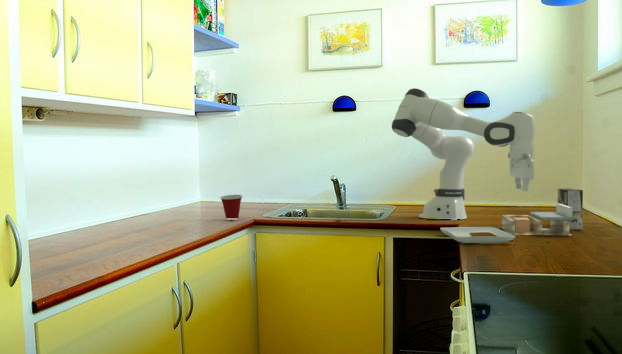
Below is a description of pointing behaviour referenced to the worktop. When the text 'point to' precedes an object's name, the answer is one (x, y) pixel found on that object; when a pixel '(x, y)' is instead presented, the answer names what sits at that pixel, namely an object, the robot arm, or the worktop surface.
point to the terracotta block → (522, 225)
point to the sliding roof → (555, 213)
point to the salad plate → (465, 237)
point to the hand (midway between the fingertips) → (521, 190)
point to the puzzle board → (535, 226)
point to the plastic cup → (231, 205)
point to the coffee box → (573, 205)
